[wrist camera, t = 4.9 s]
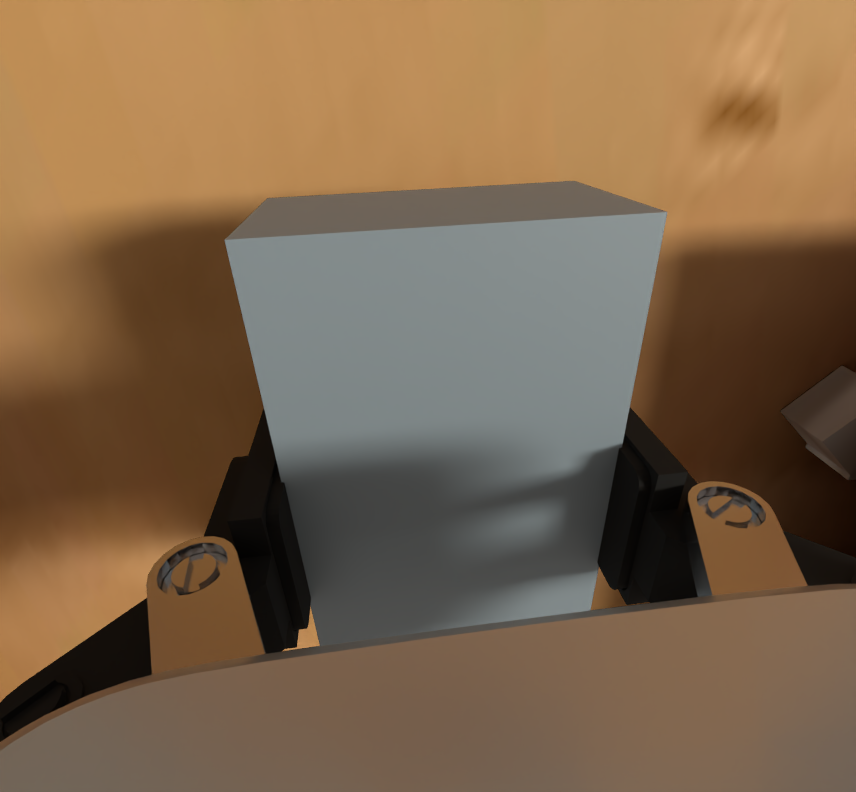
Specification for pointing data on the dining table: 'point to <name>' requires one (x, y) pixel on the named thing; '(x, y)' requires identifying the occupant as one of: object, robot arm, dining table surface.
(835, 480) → the dining table surface
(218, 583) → the robot arm
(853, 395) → the overhang shelf
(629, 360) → the pale blue carton
